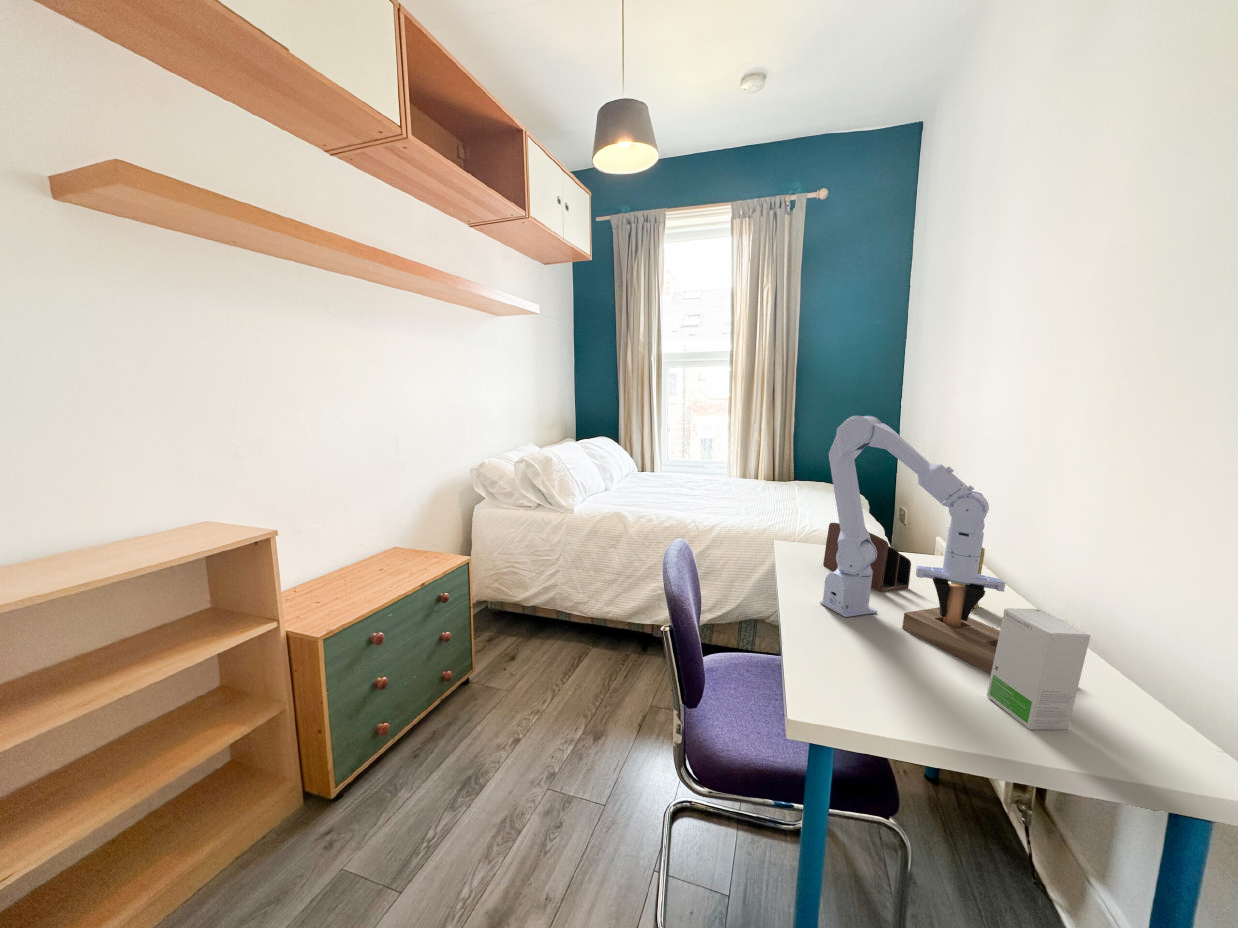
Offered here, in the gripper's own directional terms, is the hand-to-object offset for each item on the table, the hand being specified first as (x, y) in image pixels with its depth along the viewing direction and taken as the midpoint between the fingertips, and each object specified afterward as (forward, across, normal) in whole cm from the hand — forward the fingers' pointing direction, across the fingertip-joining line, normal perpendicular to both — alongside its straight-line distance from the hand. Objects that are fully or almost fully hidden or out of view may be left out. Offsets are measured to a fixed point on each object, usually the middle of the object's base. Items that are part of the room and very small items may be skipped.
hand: (952, 616), depth 98 cm
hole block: (+5, -4, +4) cm, 7 cm away
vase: (+5, -6, -23) cm, 25 cm away
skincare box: (+5, -6, +23) cm, 25 cm away
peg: (+3, 0, 0) cm, 3 cm away
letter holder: (+5, +15, -31) cm, 35 cm away
